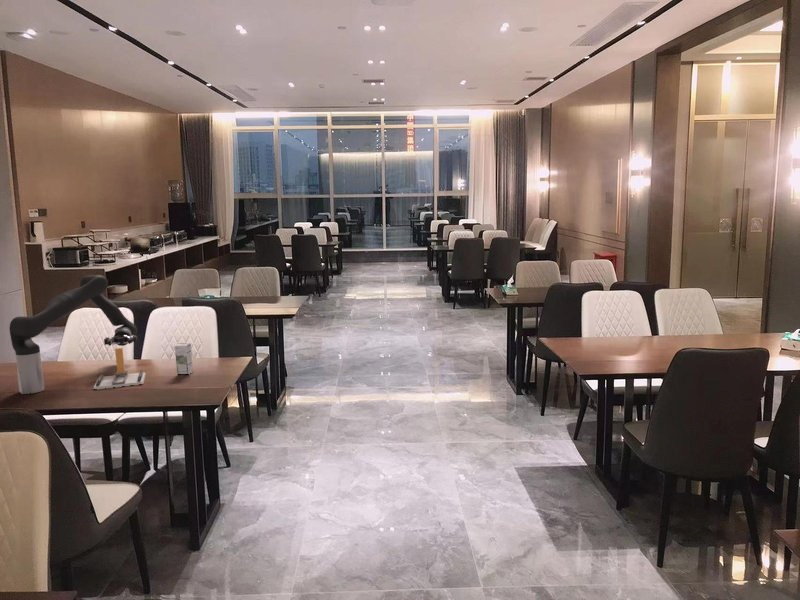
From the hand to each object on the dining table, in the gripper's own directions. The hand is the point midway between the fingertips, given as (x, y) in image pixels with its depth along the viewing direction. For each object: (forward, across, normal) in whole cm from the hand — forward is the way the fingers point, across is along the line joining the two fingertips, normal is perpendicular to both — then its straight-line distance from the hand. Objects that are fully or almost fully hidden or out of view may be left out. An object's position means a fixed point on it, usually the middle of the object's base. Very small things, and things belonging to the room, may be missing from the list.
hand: (119, 342), depth 298 cm
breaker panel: (+12, 0, +16) cm, 20 cm away
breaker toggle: (+6, 0, +14) cm, 15 cm away
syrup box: (+9, +28, +16) cm, 34 cm away
